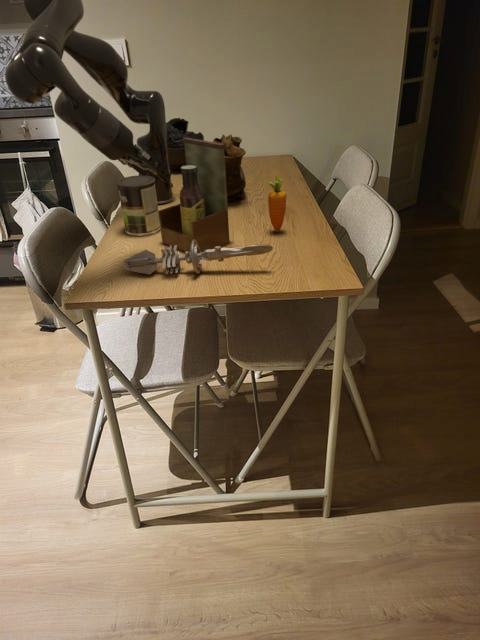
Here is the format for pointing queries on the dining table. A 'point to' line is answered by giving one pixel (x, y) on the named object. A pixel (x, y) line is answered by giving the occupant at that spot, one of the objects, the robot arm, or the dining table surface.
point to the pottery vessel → (233, 166)
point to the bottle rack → (215, 200)
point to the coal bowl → (178, 141)
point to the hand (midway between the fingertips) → (157, 175)
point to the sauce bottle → (190, 199)
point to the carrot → (277, 204)
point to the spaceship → (188, 257)
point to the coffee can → (139, 205)
